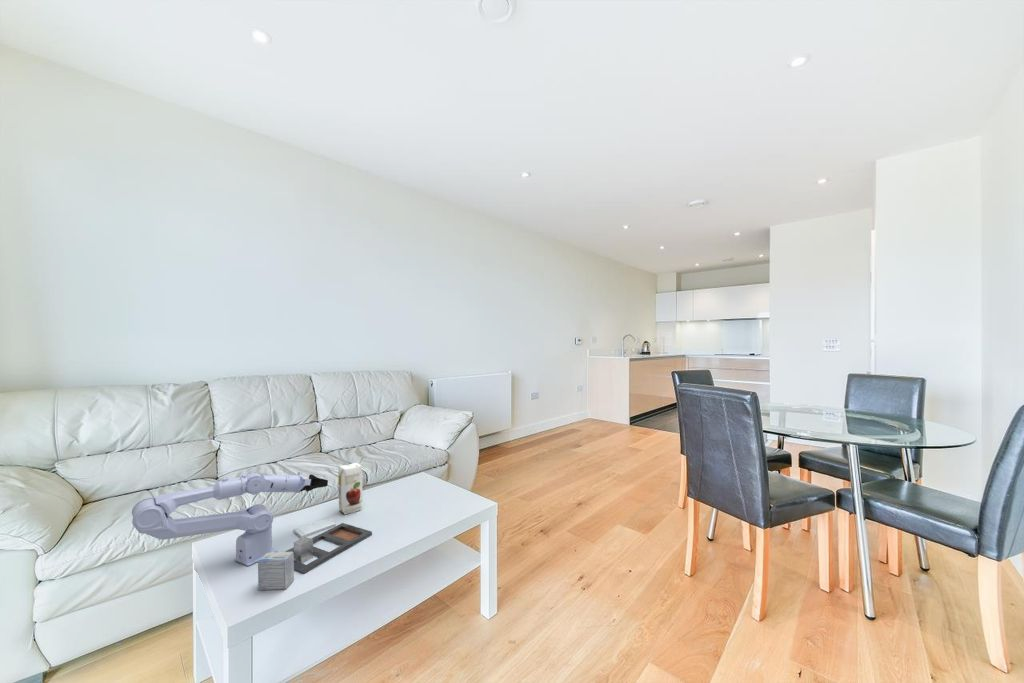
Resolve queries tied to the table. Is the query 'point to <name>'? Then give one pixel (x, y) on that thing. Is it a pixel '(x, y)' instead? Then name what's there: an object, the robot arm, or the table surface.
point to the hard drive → (314, 527)
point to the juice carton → (350, 488)
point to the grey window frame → (337, 535)
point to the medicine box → (275, 571)
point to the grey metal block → (303, 549)
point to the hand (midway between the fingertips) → (322, 483)
